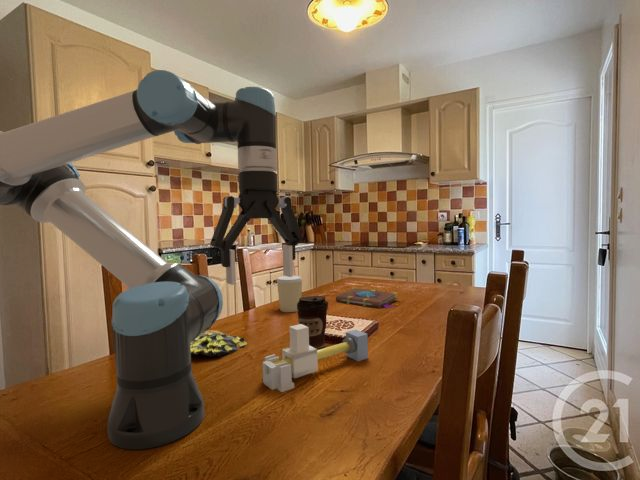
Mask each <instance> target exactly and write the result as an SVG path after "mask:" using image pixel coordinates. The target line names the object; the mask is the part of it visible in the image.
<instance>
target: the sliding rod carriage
mask: <svg viewBox="0 0 640 480" xmlns="http://www.w3.org/2000/svg"><path fill="white" fill-rule="evenodd" d="M317 350H318V348H314V347H312V346H310V345H309V327H307V326H305V325H302V324H299V323H298V324H296V325H289V347H286V348H282V349H281V352H282V353H281V354H282V357H281V358H282V359H281V360H285V359H288V358H291V360H292V368H291V374H292V378H293V379H297V378H300V377H304V376H306V375H310V374H312V373H315V372H317V371H318V372H319V367H318V366H319V365H318V363H319V361H318V360H319V359H317Z"/></svg>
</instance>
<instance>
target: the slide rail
mask: <svg viewBox="0 0 640 480" xmlns="http://www.w3.org/2000/svg"><path fill="white" fill-rule="evenodd" d="M368 335H369V334H368V333H366V332H363V331H361V330H358V329H352V330H349V331H345V338H343V340H342V342H340V343H337V344H333V345H330V346H327V347H322V348H318V349H317V359H318V360H321V359H324V358H328V357H331V356H334V355H336V354H341V353H343V352H345V356H346V357H347V358H350V359H353V360H354V361H356V362H361V361H364V360H367V359H369V345H368V344H369V336H368ZM291 368H292V360H291V358H288V359H285V360H282V359H281V360H280V356H276V354H275V353H273V354H270V355H267V356H264V361H262V383H263V384H264V385H265V386H266V387H268V388H269V389H270V390H271V391H274V390H278V391H279V392H281V393H284V392H288V391H289V390H292V389H295V382H293V380H292V378H293V377H292V374H291Z"/></svg>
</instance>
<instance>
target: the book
mask: <svg viewBox="0 0 640 480" xmlns="http://www.w3.org/2000/svg"><path fill="white" fill-rule="evenodd" d="M398 295H399V293H398V292H396V291H392V292H388V291H382V290H378V289H377V288H373V287H372V289H365V288H359V287H352V288H351V289H349V290H347V291H344V292H342V293H340V294H337V295H335V302H336V303H337V302H339V303H343V304H344V303H345V304H347V305H356V306H362V307H364V308H365V307H369V308H376V309H382V308H385V309H391V308H394V306H392V305H390V304H391V303H393V302H396V301H398V299H399V298H397V297H396V296H398Z"/></svg>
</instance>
